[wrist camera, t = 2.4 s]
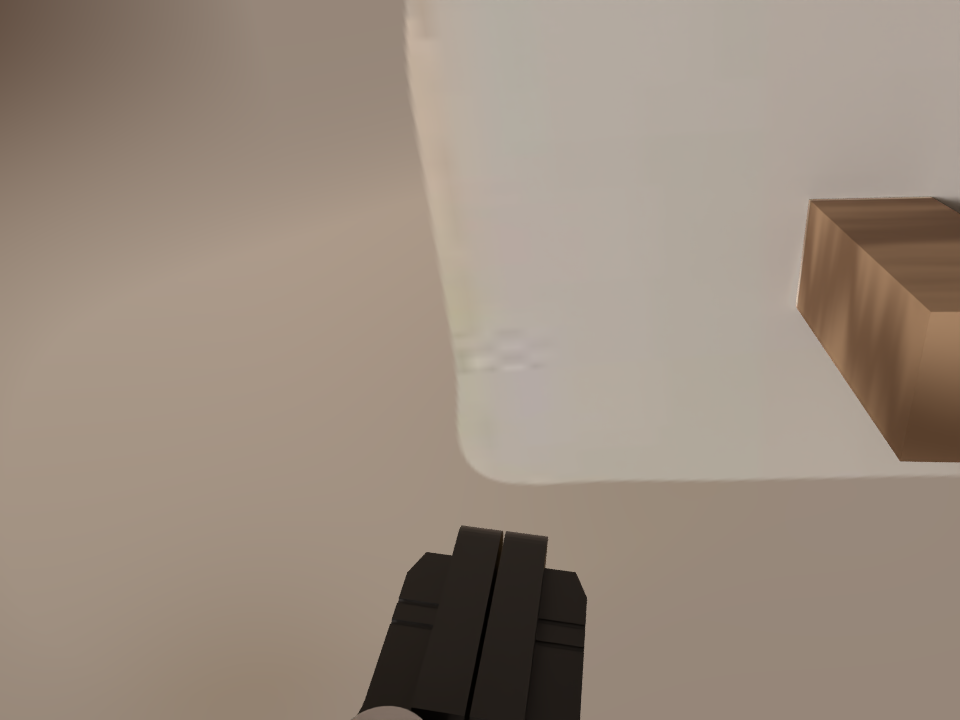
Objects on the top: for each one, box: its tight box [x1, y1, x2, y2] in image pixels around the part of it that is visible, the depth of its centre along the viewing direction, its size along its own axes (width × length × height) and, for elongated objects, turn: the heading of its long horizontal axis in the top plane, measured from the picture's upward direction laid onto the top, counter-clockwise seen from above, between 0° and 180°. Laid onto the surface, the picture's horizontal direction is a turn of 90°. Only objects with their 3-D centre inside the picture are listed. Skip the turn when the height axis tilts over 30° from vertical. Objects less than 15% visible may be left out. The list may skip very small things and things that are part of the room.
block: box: [796, 197, 960, 462], centre depth 26 cm, size 4×4×12 cm
